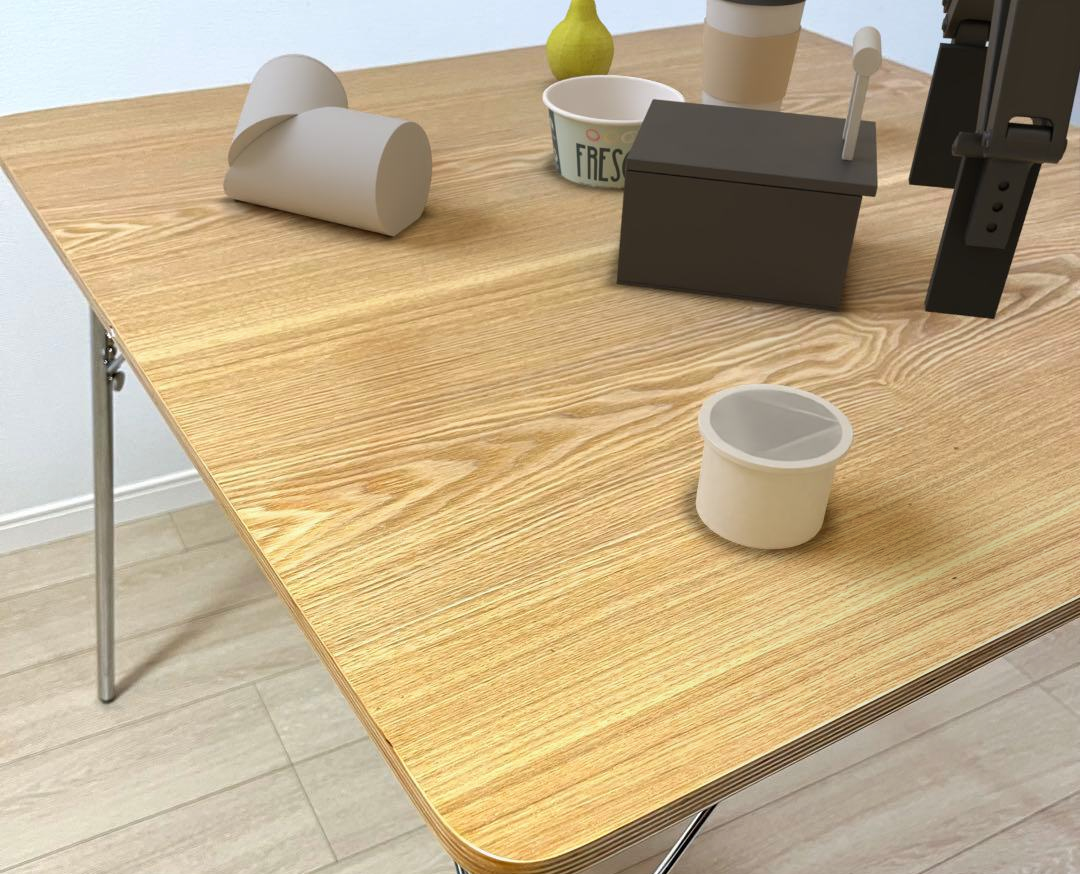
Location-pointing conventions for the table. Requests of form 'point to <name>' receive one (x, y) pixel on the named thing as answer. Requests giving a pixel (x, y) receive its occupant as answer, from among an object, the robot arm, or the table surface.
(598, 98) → the food container
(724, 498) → the white short cylinder
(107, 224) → the table surface
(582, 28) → the fruit
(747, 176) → the lid
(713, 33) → the coffee cup
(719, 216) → the open brown storage bin
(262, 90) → the elbow connector
